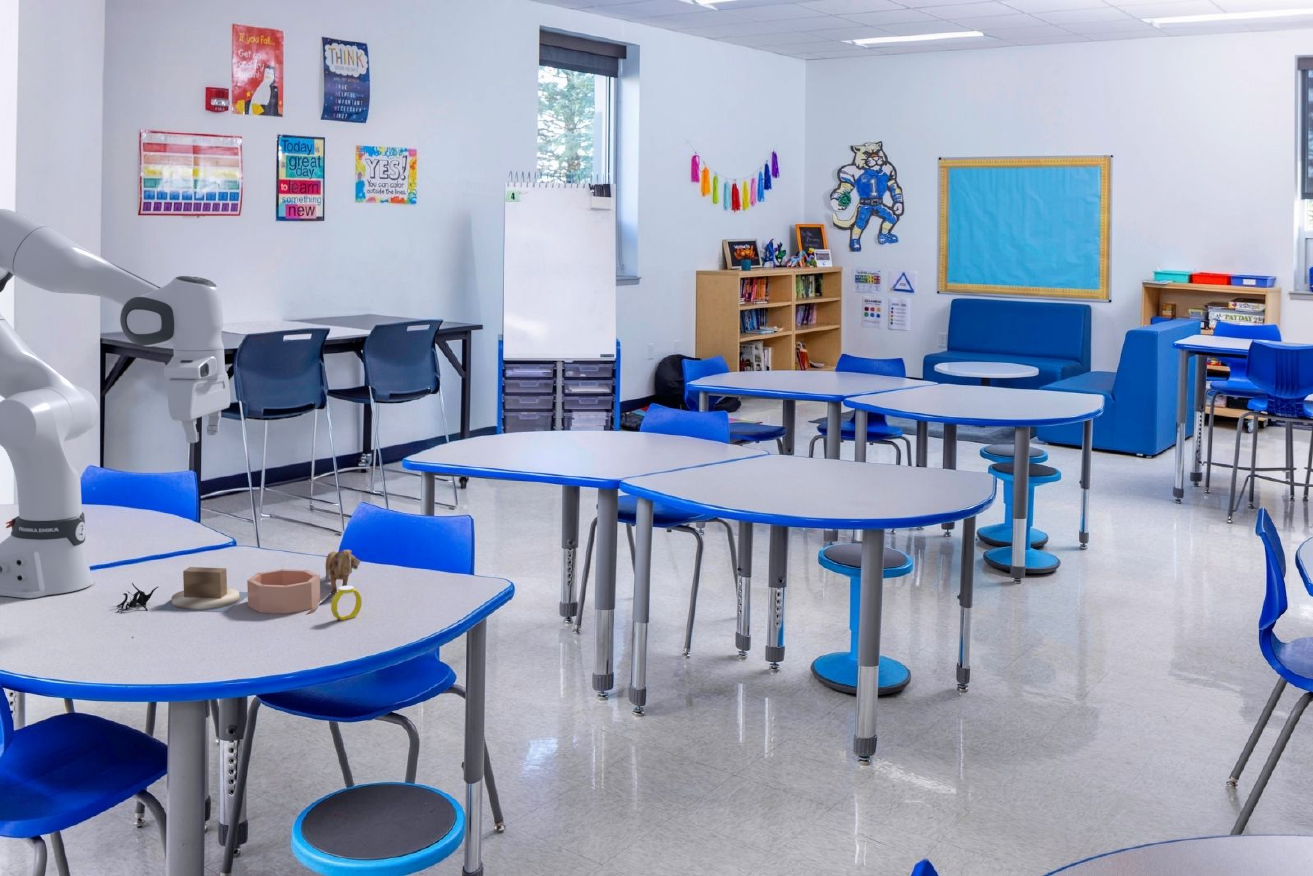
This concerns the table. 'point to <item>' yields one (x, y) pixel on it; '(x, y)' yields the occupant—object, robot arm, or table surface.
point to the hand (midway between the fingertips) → (203, 438)
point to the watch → (337, 596)
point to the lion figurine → (340, 567)
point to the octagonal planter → (284, 591)
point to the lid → (205, 590)
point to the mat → (223, 609)
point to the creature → (141, 599)
